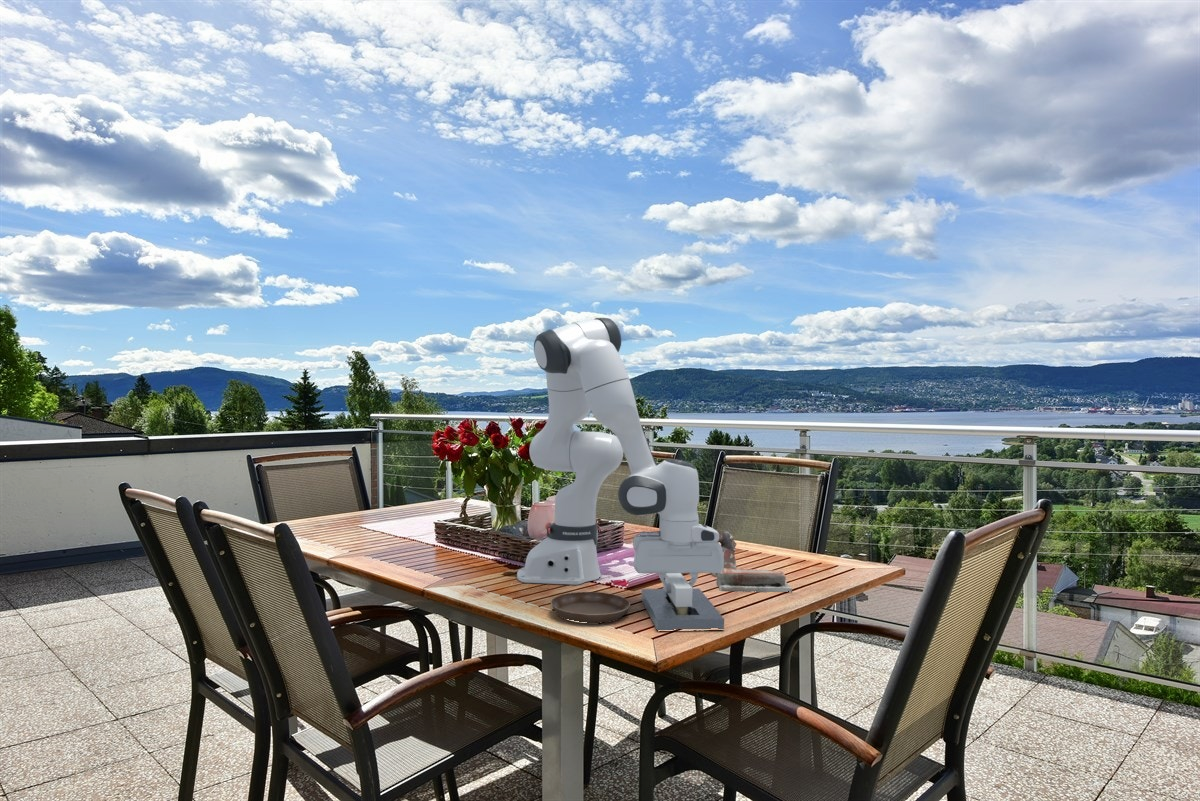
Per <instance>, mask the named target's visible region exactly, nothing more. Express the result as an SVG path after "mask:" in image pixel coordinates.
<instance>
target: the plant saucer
mask: <svg viewBox="0 0 1200 801" xmlns="http://www.w3.org/2000/svg"><path fill="white" fill-rule="evenodd" d="M550 605H551V607H552V608H553V610H554V611H555V613H556V614H557V615H558V616H559V617H560V616H561V617H563V618H565V619H569V620H574V621H579V622H587V623H600V622H608V623H610V622H609V621H613V620H616V619H618V620H619V618H620V619H621V618H622V617H623V616H624V615H625V614H626V612H627V611H628V610H629V608H630V606H631V602H630V601H629V600H628V599H626V598H625V597H622V596H620V595H617V594H612V593H607V592H598V591H578V592H569V593H568V592H567V593H563V594H560V595H557V596H554V597H553V598H551V600H550ZM561 617H560V618H561ZM563 618H562V619H563ZM565 619H564V620H565ZM616 621H617V620H616ZM613 622H614V621H613Z"/></svg>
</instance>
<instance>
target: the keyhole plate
mask: <svg viewBox="0 0 1200 801" xmlns="http://www.w3.org/2000/svg"><path fill="white" fill-rule="evenodd" d="M641 601H642V603H643V605H644V608H645V609H646V610H645V611H646V612H647V613H648V616H649V617H650V620H651V619H652V620H651V622H652V621H653V622H652V624H653V623H654V624H653V625H655V626H654V628H655V627H656V628H655V630H656V629H657V630H674V629H676V630H677V629H711V628H718V629H724V630H725V618H724V617H723V615H722V614H721V613H720V612H719V611H718V610H717V609H716V607H715V606H714V605H713V603H712V602H711V601H710V600H709V599H708V597H707V595H705V594H704V592H703V591H702V590H701V588H693V593H692V607H688V615H676V606H675V605H674V603H669V595H668V594H667V593H664V591H663V588H642V589H641ZM657 630H656V631H657Z"/></svg>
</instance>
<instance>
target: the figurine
mask: <svg viewBox="0 0 1200 801" xmlns="http://www.w3.org/2000/svg"><path fill="white" fill-rule="evenodd" d="M716 531H717V532H718V533H719V540H718V541H717V542H718V543H719V544H720V545H721V547H722V551H723V560H724V568H730V569H738V567H737V562H736V556H735V552H736V546H737V543H736V541H735V540H734V536H733V535H732V534H731V533H730V532H729V531H725V530H724V531H723V532H722V533H720V531H719V530H716ZM717 574H718V573H711V575H712V576H713V577H716V578H717Z"/></svg>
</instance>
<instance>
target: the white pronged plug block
mask: <svg viewBox="0 0 1200 801" xmlns="http://www.w3.org/2000/svg"><path fill="white" fill-rule="evenodd" d="M664 580H665V582H666V583H670V585H671V589H670V590H671V593H667V594H668V595H669V603H674V605H675V606H676V615H688V607H692V587H691V586H690V585H689V581H688V580H687V579H686V578H685V577H684V575H683V573H666V578H664Z"/></svg>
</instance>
